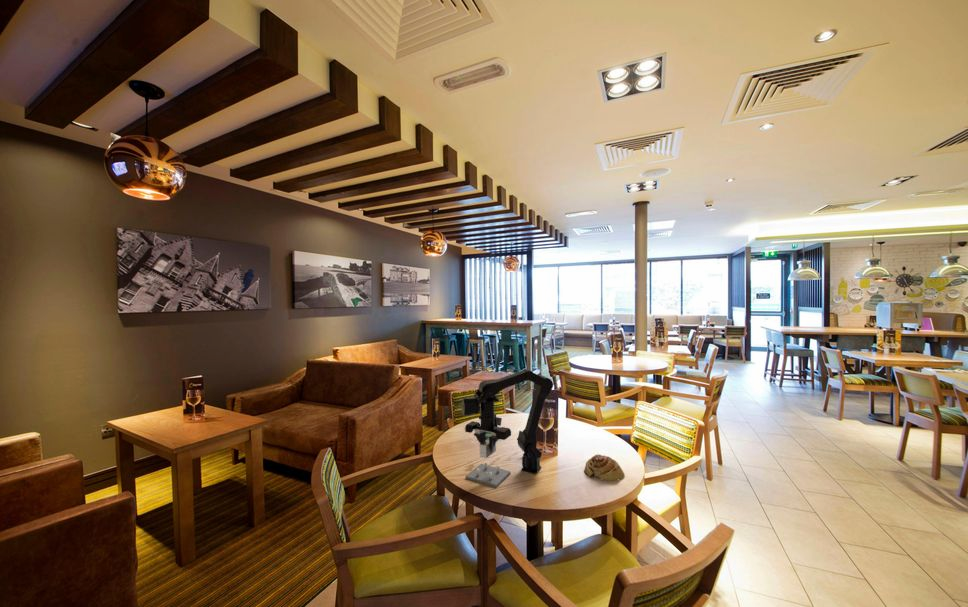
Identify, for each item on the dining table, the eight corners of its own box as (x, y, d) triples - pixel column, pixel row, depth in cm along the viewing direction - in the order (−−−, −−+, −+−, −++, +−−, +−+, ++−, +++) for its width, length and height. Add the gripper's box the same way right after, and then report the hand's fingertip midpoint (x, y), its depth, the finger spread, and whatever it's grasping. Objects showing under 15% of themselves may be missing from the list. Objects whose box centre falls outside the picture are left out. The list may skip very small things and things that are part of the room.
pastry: (578, 470, 143) (578, 451, 143) (606, 463, 148) (606, 444, 148) (600, 485, 130) (600, 464, 130) (630, 477, 136) (630, 457, 136)
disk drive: (490, 430, 190) (477, 439, 177) (490, 425, 190) (477, 434, 177) (507, 433, 185) (495, 443, 172) (507, 428, 185) (495, 437, 172)
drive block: (496, 450, 141) (495, 438, 141) (486, 458, 134) (486, 445, 134) (489, 449, 142) (489, 437, 142) (479, 456, 136) (479, 444, 136)
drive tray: (510, 473, 140) (510, 465, 140) (496, 487, 130) (496, 478, 130) (481, 465, 147) (481, 457, 147) (465, 478, 137) (465, 469, 137)
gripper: (516, 410, 140) (517, 448, 140) (478, 404, 150) (478, 439, 150) (504, 418, 131) (505, 459, 131) (464, 411, 140) (464, 449, 140)
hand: (488, 451), depth 138 cm, fingers closed on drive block, 3 cm apart
